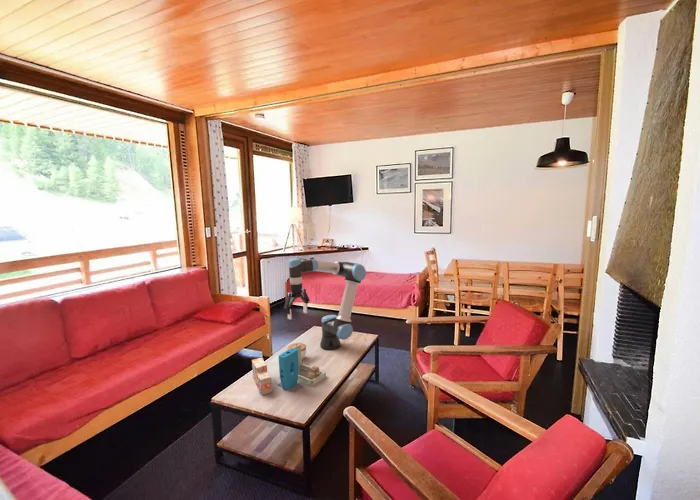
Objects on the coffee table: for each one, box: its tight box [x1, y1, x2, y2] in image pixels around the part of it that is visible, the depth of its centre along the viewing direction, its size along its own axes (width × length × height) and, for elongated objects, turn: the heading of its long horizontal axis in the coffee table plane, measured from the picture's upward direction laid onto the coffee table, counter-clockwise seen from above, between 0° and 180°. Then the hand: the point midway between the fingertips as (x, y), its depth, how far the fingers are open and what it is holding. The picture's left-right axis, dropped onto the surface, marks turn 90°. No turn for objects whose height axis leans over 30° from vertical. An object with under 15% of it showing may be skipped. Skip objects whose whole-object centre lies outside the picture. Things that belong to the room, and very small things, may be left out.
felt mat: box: [277, 381, 304, 393], centre depth 187 cm, size 7×14×1 cm, turn 53°
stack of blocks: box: [251, 357, 273, 396], centre depth 188 cm, size 21×6×12 cm, turn 28°
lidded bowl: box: [287, 342, 307, 360], centre depth 220 cm, size 13×13×11 cm
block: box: [278, 348, 300, 391], centre depth 186 cm, size 12×5×20 cm, turn 149°
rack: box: [293, 344, 327, 387], centre depth 196 cm, size 12×22×16 cm, turn 53°
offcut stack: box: [307, 365, 320, 380], centre depth 193 cm, size 6×4×8 cm
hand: (297, 315), depth 204 cm, fingers open, 13 cm apart
